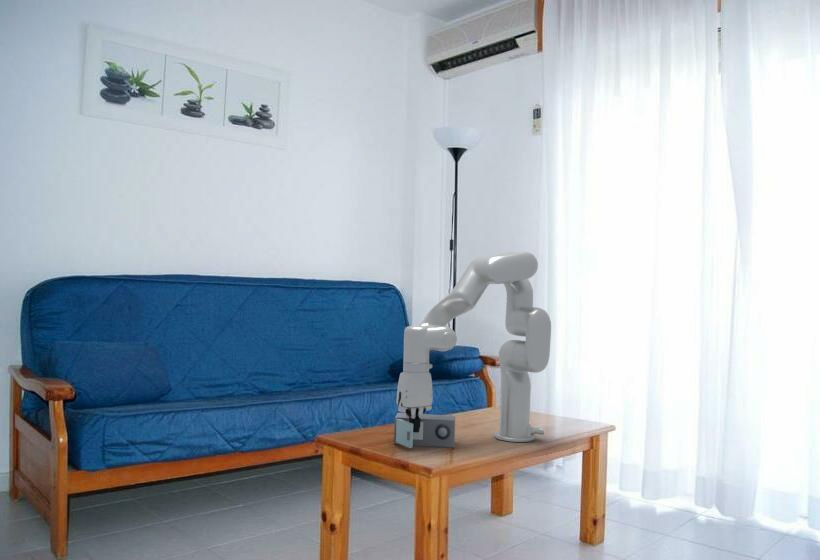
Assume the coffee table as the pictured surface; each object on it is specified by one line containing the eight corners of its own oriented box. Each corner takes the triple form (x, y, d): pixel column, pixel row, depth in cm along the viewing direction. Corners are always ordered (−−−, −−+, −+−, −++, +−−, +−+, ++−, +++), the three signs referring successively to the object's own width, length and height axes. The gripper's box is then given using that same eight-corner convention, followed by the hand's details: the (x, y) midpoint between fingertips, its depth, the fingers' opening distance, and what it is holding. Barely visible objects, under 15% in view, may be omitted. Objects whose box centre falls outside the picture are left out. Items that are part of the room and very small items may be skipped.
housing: (454, 441, 200) (455, 413, 200) (453, 448, 191) (454, 419, 191) (396, 438, 201) (397, 410, 202) (393, 444, 192) (394, 415, 193)
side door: (412, 447, 185) (413, 423, 186) (407, 448, 184) (408, 424, 185) (398, 441, 192) (399, 418, 192) (393, 442, 191) (394, 419, 192)
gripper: (431, 366, 196) (430, 426, 196) (387, 367, 189) (385, 430, 189) (444, 368, 189) (442, 431, 189) (399, 370, 182) (397, 435, 182)
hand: (414, 431), depth 189 cm, fingers closed
